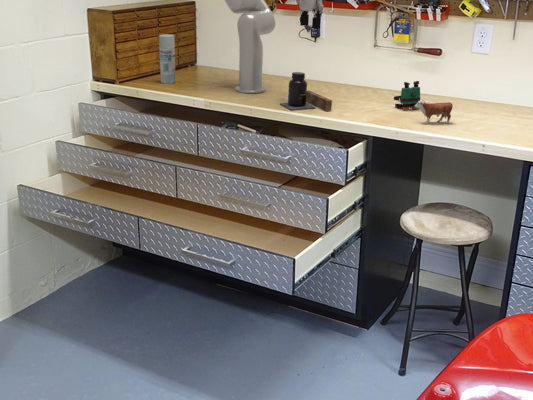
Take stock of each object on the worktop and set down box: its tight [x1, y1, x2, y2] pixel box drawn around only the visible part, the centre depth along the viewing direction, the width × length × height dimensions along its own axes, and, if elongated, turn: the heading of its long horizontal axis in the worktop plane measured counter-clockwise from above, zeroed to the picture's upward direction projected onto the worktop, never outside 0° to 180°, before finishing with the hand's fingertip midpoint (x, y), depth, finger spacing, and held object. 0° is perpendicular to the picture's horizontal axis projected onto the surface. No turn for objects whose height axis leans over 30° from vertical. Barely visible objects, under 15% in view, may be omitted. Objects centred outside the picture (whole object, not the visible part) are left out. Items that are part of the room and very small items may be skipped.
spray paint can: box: [158, 33, 176, 85], centre depth 272 cm, size 6×6×20 cm
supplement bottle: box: [287, 71, 308, 107], centre depth 237 cm, size 7×7×12 cm
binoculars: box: [393, 80, 421, 111], centre depth 241 cm, size 9×11×10 cm
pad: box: [279, 102, 316, 111], centre depth 239 cm, size 10×10×1 cm
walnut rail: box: [306, 90, 333, 112], centre depth 241 cm, size 18×2×4 cm, turn 24°
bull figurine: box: [415, 98, 453, 125], centre depth 221 cm, size 4×13×8 cm, turn 95°
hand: (310, 26), depth 239 cm, fingers open, 9 cm apart
